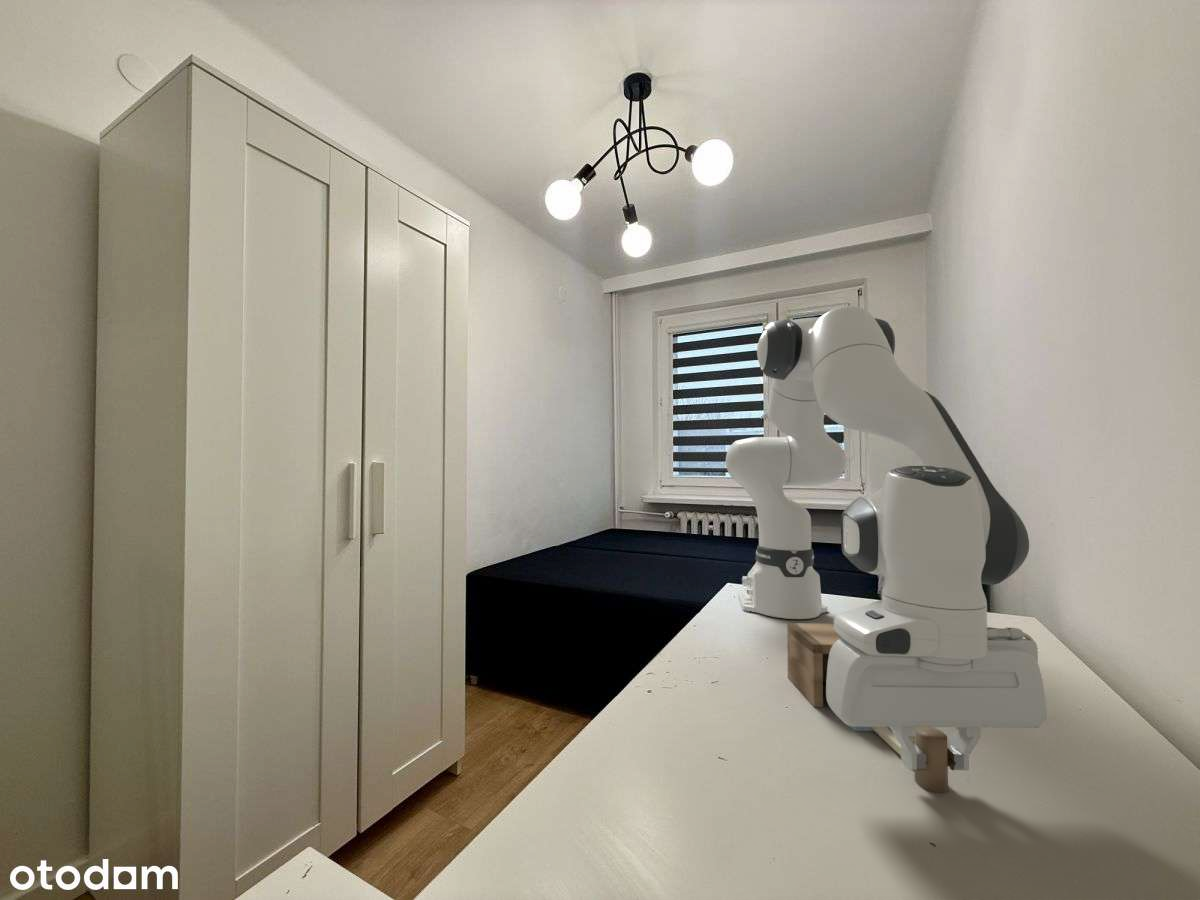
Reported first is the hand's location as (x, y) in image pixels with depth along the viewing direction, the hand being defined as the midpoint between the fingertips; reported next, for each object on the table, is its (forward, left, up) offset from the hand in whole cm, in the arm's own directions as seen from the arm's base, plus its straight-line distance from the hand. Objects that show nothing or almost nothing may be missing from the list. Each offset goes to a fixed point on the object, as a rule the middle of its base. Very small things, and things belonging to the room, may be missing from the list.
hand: (934, 767), depth 49 cm
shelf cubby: (-21, 0, -2) cm, 21 cm away
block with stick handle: (-7, 0, -2) cm, 8 cm away
